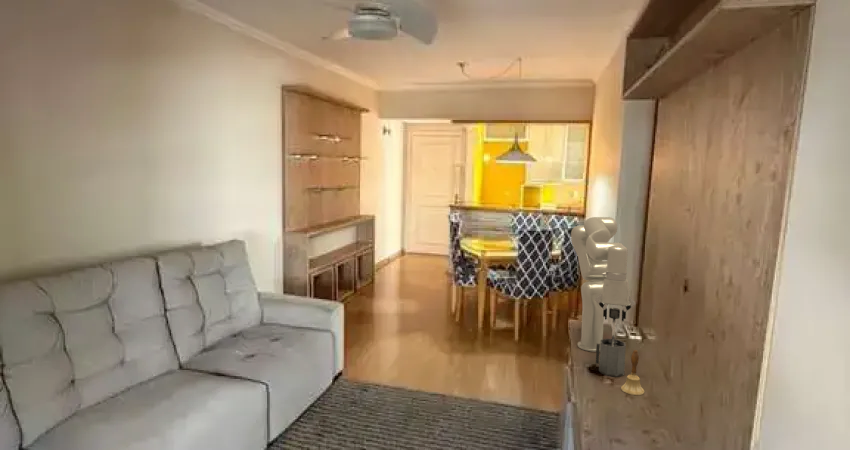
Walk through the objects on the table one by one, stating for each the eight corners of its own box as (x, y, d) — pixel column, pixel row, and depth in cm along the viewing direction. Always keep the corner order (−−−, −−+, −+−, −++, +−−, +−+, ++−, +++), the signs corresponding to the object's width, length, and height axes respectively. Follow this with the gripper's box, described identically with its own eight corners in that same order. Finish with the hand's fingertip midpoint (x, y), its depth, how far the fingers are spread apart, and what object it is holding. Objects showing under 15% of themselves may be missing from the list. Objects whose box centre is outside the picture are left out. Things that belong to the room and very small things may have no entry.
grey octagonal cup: (595, 365, 212) (597, 337, 211) (624, 368, 208) (625, 340, 207) (595, 374, 203) (596, 345, 202) (624, 378, 199) (626, 348, 198)
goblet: (604, 344, 208) (606, 306, 206) (621, 346, 206) (623, 307, 204) (604, 349, 202) (605, 310, 200) (621, 352, 200) (623, 312, 198)
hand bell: (643, 387, 191) (645, 347, 189) (645, 396, 184) (647, 355, 182) (620, 384, 194) (622, 345, 192) (621, 393, 186) (623, 352, 184)
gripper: (593, 276, 200) (591, 319, 202) (639, 280, 194) (637, 324, 196) (594, 272, 207) (592, 314, 209) (639, 276, 201) (636, 319, 203)
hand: (614, 319), depth 203 cm, fingers open, 5 cm apart
